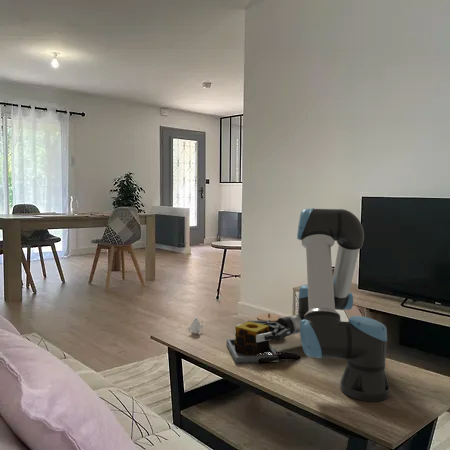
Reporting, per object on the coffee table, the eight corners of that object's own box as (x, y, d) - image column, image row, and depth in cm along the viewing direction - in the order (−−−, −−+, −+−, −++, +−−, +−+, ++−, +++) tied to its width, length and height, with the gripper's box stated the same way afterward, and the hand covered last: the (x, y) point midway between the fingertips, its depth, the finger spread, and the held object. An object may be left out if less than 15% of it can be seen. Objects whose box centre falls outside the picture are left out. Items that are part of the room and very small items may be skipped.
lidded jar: (281, 338, 192) (282, 317, 191) (257, 337, 192) (257, 316, 191) (279, 330, 202) (280, 310, 202) (255, 330, 202) (256, 309, 202)
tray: (278, 362, 165) (278, 355, 165) (235, 364, 162) (236, 357, 162) (264, 343, 184) (264, 337, 184) (226, 345, 182) (226, 339, 181)
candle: (255, 358, 166) (256, 332, 165) (233, 351, 172) (234, 326, 171) (269, 350, 174) (270, 325, 174) (248, 344, 180) (248, 320, 180)
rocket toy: (200, 336, 192) (200, 318, 192) (188, 335, 193) (188, 317, 193) (203, 332, 198) (203, 314, 197) (191, 331, 199) (191, 313, 198)
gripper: (309, 343, 172) (265, 353, 161) (269, 326, 193) (228, 333, 182) (310, 325, 172) (266, 333, 160) (270, 309, 193) (229, 315, 181)
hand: (246, 333), depth 171 cm, fingers open, 13 cm apart
